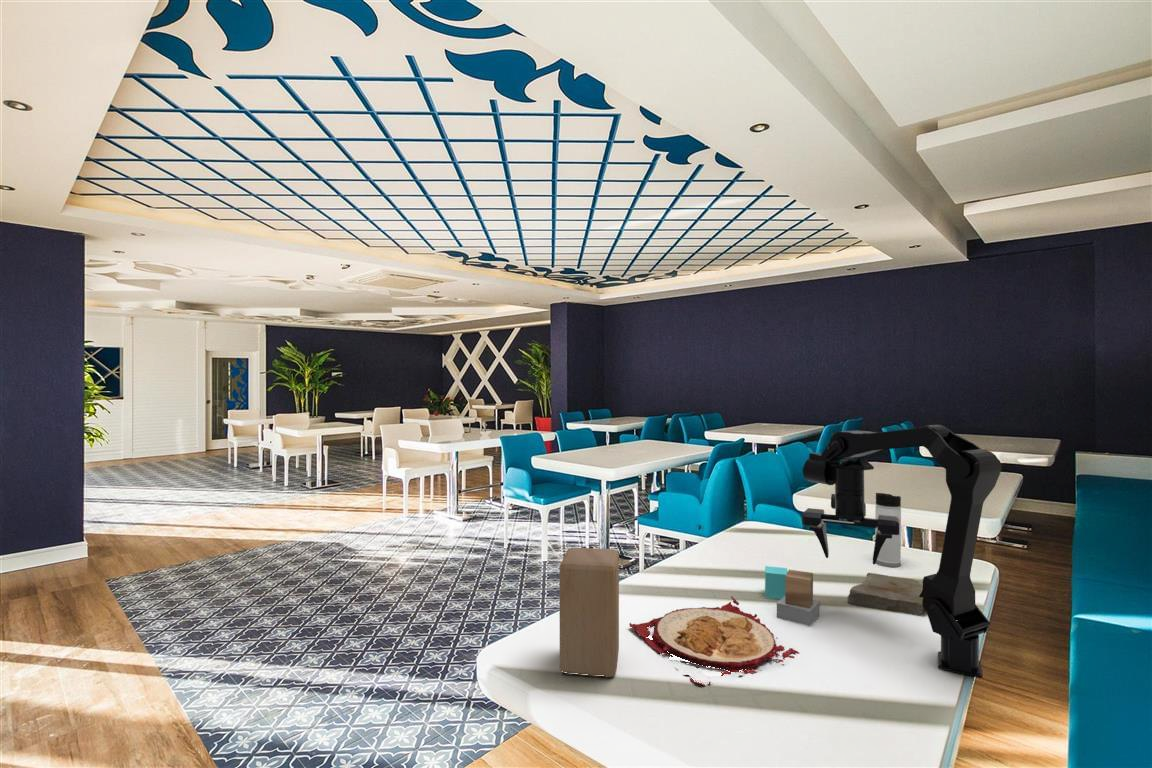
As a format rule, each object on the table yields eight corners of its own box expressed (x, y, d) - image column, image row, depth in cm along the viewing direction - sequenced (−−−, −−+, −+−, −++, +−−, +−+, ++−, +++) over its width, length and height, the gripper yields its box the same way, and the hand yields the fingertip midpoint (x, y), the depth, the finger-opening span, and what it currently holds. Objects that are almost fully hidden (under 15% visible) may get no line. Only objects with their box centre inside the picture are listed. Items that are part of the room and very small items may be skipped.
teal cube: (787, 600, 133) (788, 574, 133) (765, 597, 134) (765, 572, 134) (786, 592, 138) (786, 568, 137) (765, 590, 139) (765, 566, 139)
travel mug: (869, 562, 160) (869, 491, 160) (885, 558, 163) (885, 489, 162) (889, 569, 154) (890, 495, 154) (905, 565, 157) (906, 493, 157)
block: (558, 676, 99) (558, 562, 99) (567, 648, 109) (567, 545, 109) (615, 680, 98) (615, 565, 97) (619, 652, 108) (619, 547, 107)
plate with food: (628, 632, 118) (627, 615, 118) (730, 608, 128) (730, 593, 128) (698, 695, 95) (698, 674, 95) (815, 659, 106) (815, 641, 106)
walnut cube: (810, 608, 120) (810, 580, 120) (785, 603, 123) (785, 576, 123) (813, 600, 125) (813, 573, 125) (789, 595, 127) (789, 569, 127)
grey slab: (810, 627, 119) (810, 611, 119) (776, 618, 123) (776, 602, 123) (819, 616, 124) (819, 601, 124) (787, 608, 129) (787, 593, 129)
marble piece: (847, 605, 130) (847, 587, 130) (851, 585, 143) (851, 568, 143) (932, 620, 122) (932, 601, 122) (928, 597, 135) (928, 580, 135)
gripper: (899, 486, 125) (900, 557, 125) (809, 479, 134) (809, 545, 134) (898, 495, 115) (899, 571, 115) (801, 487, 125) (802, 558, 125)
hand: (850, 560), depth 122 cm, fingers open, 9 cm apart
